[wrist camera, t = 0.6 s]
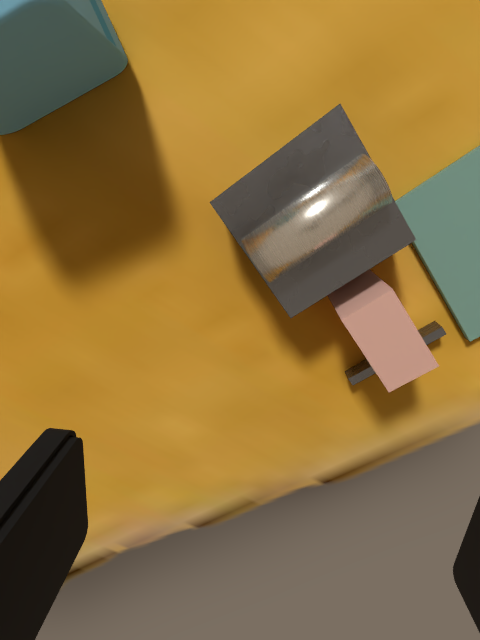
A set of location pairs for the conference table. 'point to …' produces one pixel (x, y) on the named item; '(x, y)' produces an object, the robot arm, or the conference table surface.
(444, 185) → the pad
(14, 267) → the conference table surface
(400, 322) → the pink rectangular prism
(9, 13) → the data package
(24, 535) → the robot arm
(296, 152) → the dispenser
